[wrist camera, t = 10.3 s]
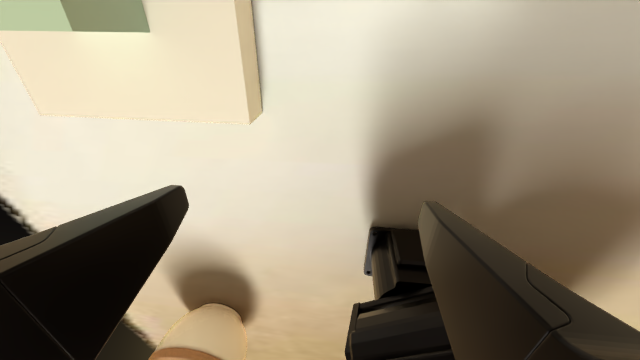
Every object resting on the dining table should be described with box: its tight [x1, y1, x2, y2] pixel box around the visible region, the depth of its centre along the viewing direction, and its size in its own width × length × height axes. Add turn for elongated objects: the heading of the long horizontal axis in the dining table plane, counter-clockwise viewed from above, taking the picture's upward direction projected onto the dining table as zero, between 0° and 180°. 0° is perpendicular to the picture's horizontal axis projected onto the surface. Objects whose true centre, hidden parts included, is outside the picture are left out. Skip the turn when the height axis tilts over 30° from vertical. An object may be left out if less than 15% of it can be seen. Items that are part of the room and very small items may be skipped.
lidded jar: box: [148, 303, 247, 360], centre depth 31 cm, size 11×11×9 cm
